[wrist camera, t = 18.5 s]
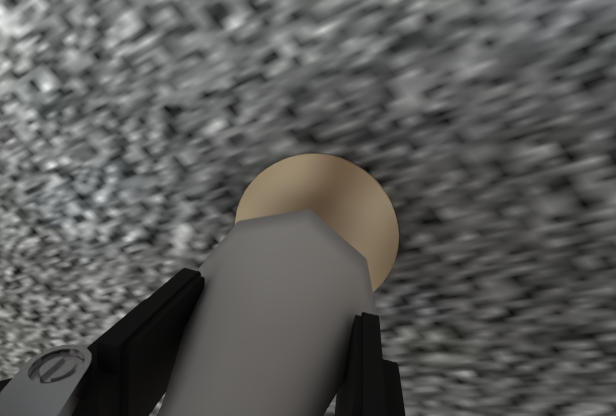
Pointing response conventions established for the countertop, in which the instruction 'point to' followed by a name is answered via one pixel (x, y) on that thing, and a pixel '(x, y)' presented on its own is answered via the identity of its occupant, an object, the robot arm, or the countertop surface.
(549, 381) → the countertop surface
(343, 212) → the coaster
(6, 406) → the robot arm
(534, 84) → the countertop surface
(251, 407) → the flask
